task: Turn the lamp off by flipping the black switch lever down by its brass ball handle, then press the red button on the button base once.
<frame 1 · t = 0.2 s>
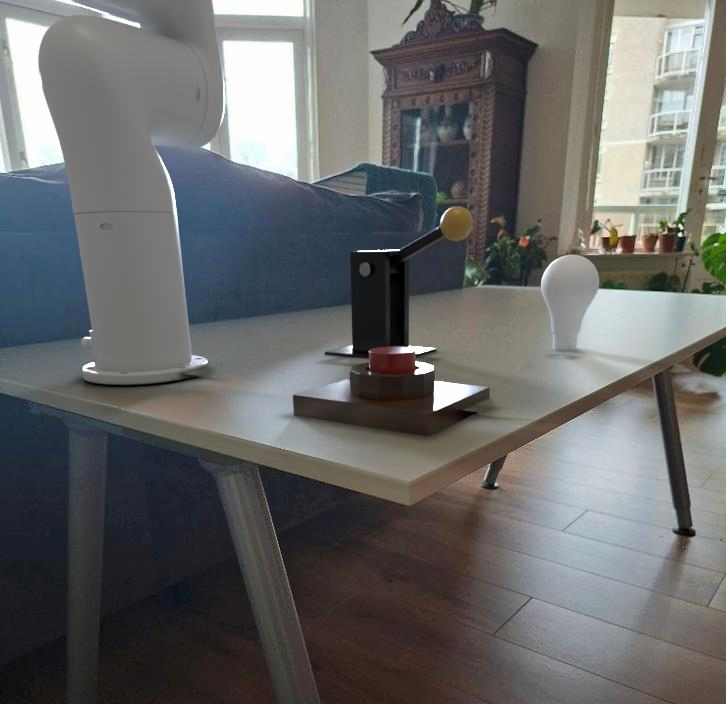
lightbulb: (563, 358, 76), on the table
switch bracket: (381, 360, 76), on the table
lamp button: (392, 361, 51), point 4 cm above the table, slide at 0.1 cm
button base: (392, 412, 53), on the table
switch lever: (417, 246, 69), point 12 cm above the table, hinge at 25.0°
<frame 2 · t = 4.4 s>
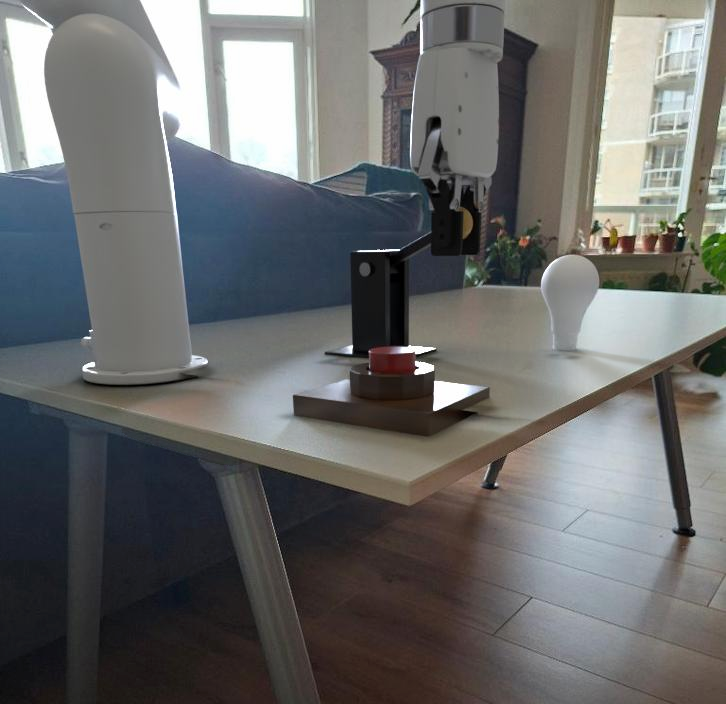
hand: (455, 253, 67), 11 cm above the table, tool pointing down, fingers closed on switch lever, 3 cm apart
switch lever: (417, 246, 69), point 12 cm above the table, hinge at 25.0°, touching gripper
everything else where it was.
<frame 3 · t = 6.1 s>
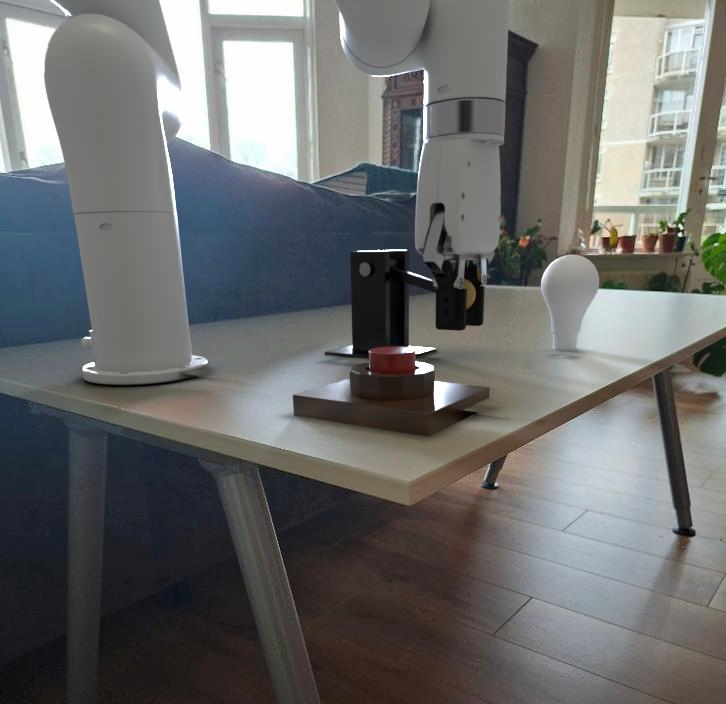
hand: (459, 325, 69), 4 cm above the table, tool pointing down, fingers closed on switch lever, 3 cm apart
switch lever: (419, 281, 70), point 9 cm above the table, hinge at -14.8°, touching gripper
everything else where it was.
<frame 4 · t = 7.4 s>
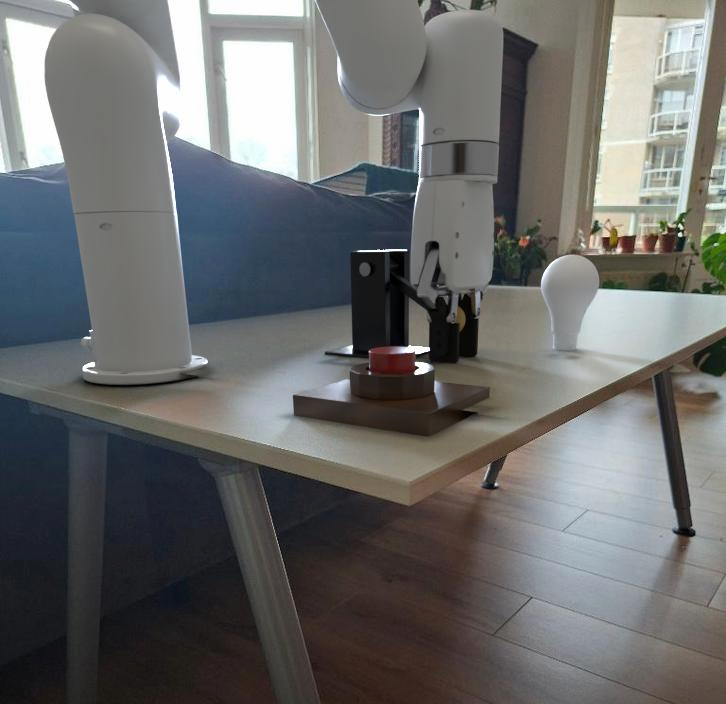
hand: (453, 356, 70), 1 cm above the table, tool pointing down, fingers open, 3 cm apart
switch lever: (415, 294, 71), point 7 cm above the table, hinge at -30.6°
everything else where it was.
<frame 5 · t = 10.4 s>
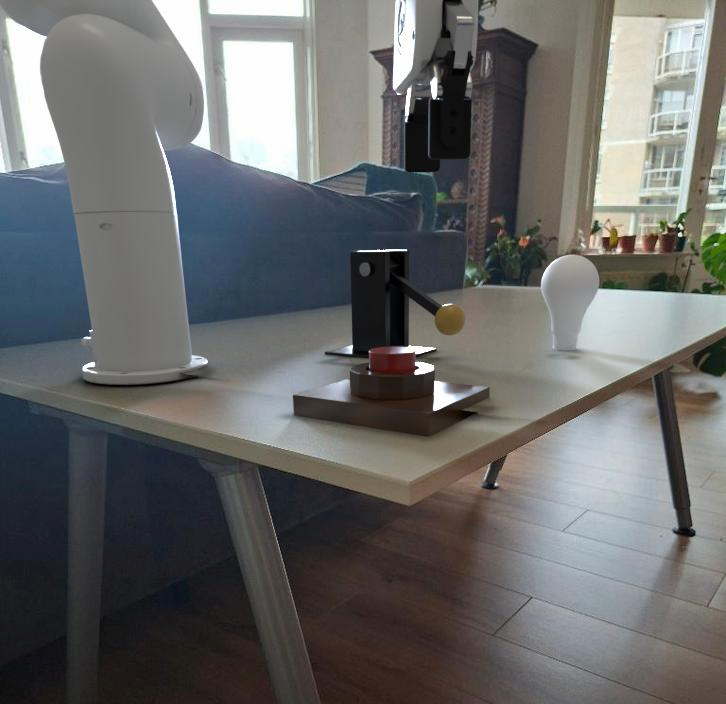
hand: (434, 165, 56), 19 cm above the table, tool pointing down, fingers open, 9 cm apart
nothing on the table moved.
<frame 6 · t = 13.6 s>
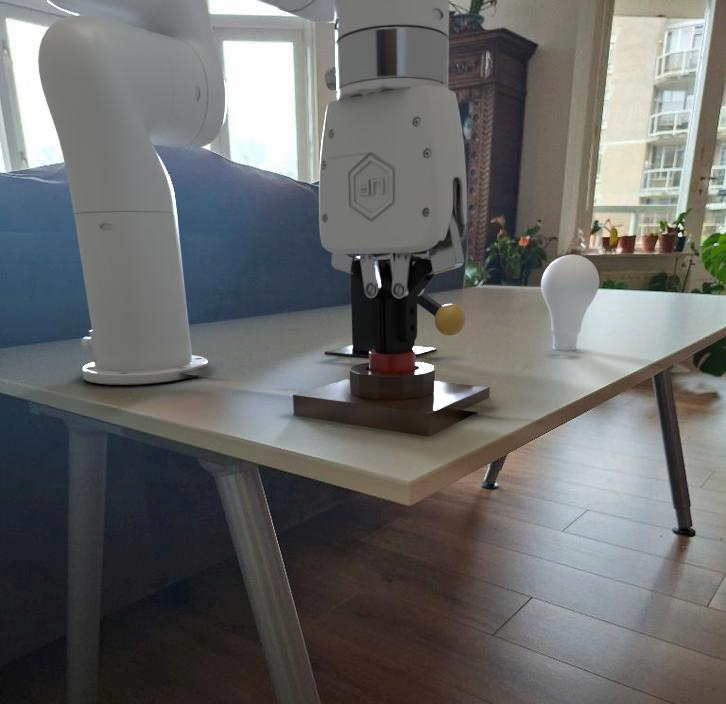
hand: (395, 350, 51), 5 cm above the table, tool pointing down, fingers closed
lamp button: (392, 362, 51), point 4 cm above the table, slide at 0.0 cm, touching gripper
everything else where it was.
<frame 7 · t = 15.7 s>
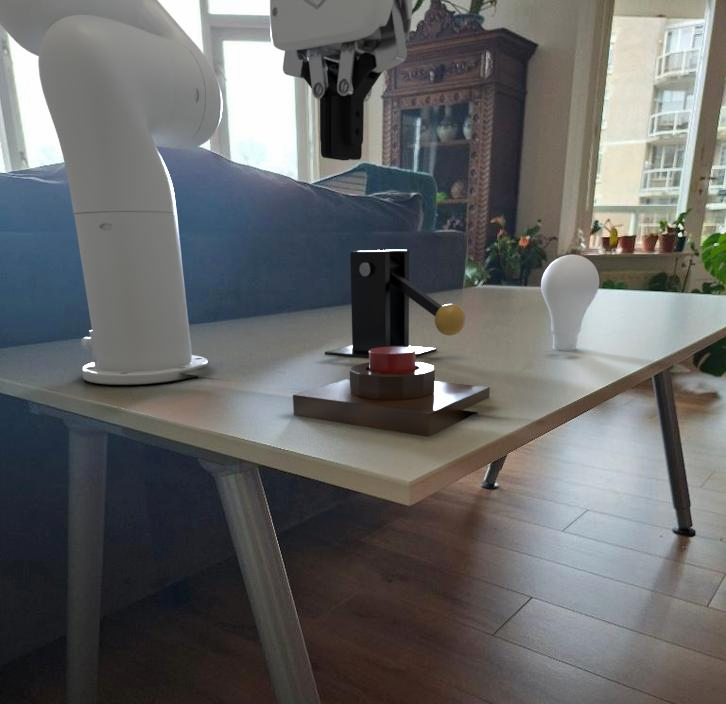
hand: (341, 158, 52), 19 cm above the table, tool pointing down, fingers closed
lamp button: (392, 361, 51), point 4 cm above the table, slide at 0.1 cm
everything else where it was.
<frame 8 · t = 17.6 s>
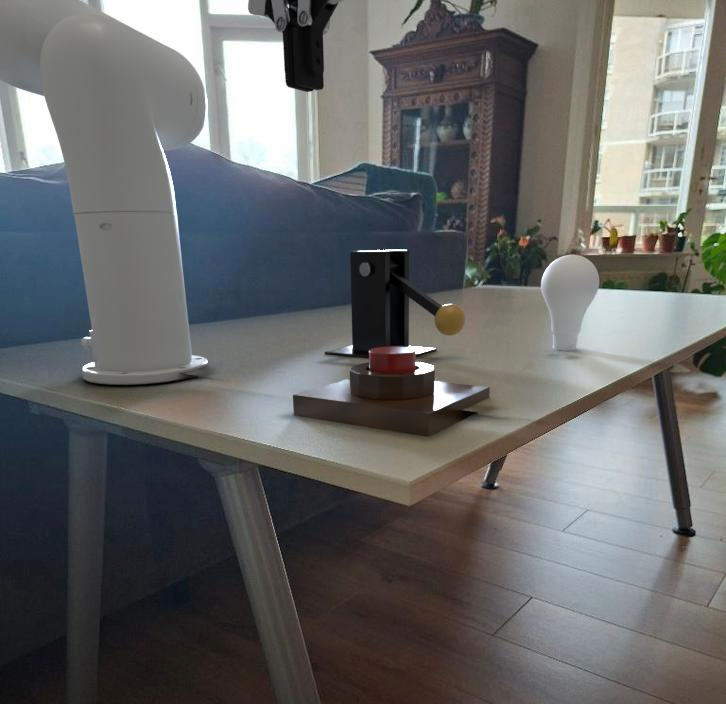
hand: (305, 87, 56), 25 cm above the table, tool pointing down, fingers closed
nothing on the table moved.
at the end: switch lever at -30° (first picture: +25°); lamp button pushed in 1.1 cm at the most during the clip, back to where it started at the end; lamp button slide at 0.1 cm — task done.
